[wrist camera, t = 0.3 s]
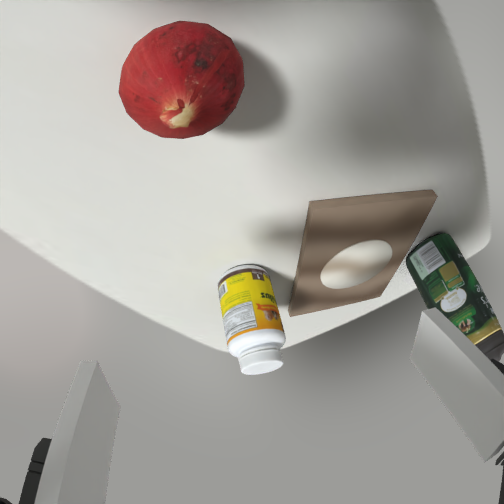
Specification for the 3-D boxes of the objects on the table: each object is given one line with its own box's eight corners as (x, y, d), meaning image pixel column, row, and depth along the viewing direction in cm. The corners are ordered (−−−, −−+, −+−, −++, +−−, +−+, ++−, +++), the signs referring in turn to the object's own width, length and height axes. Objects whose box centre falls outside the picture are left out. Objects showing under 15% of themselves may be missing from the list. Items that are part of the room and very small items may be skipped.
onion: (168, -4, 11) (155, 10, 7) (252, 45, 15) (296, 95, 10) (114, 79, 15) (79, 150, 10) (195, 116, 18) (205, 199, 13)
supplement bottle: (274, 280, 35) (297, 366, 29) (229, 296, 36) (245, 381, 30) (258, 254, 31) (284, 352, 25) (207, 273, 32) (222, 370, 25)
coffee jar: (455, 249, 39) (509, 357, 28) (414, 276, 43) (462, 385, 32) (446, 221, 33) (516, 353, 22) (397, 255, 36) (456, 389, 25)
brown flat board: (309, 201, 26) (314, 211, 25) (432, 189, 28) (438, 197, 27) (288, 310, 42) (290, 318, 41) (377, 291, 44) (380, 297, 43)
